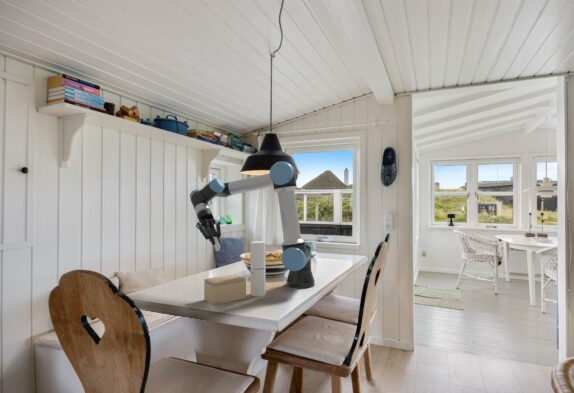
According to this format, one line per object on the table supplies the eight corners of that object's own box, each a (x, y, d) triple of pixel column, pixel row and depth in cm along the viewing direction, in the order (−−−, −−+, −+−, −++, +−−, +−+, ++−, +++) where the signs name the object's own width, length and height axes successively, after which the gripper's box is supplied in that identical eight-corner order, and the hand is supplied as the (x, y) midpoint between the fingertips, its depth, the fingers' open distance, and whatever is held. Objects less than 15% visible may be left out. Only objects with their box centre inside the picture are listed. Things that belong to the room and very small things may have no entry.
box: (204, 299, 148) (204, 282, 148) (235, 293, 157) (235, 277, 158) (213, 304, 140) (213, 286, 140) (246, 298, 149) (246, 280, 150)
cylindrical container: (262, 296, 152) (262, 242, 153) (248, 295, 154) (248, 242, 155) (267, 292, 159) (267, 241, 160) (253, 292, 161) (253, 241, 161)
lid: (204, 281, 148) (204, 278, 148) (234, 276, 158) (234, 274, 158) (213, 285, 140) (213, 283, 140) (245, 280, 150) (245, 278, 150)
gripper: (213, 218, 175) (228, 252, 161) (189, 219, 167) (203, 255, 153) (217, 208, 171) (233, 243, 157) (193, 208, 163) (207, 245, 149)
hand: (218, 249), depth 155 cm, fingers closed
